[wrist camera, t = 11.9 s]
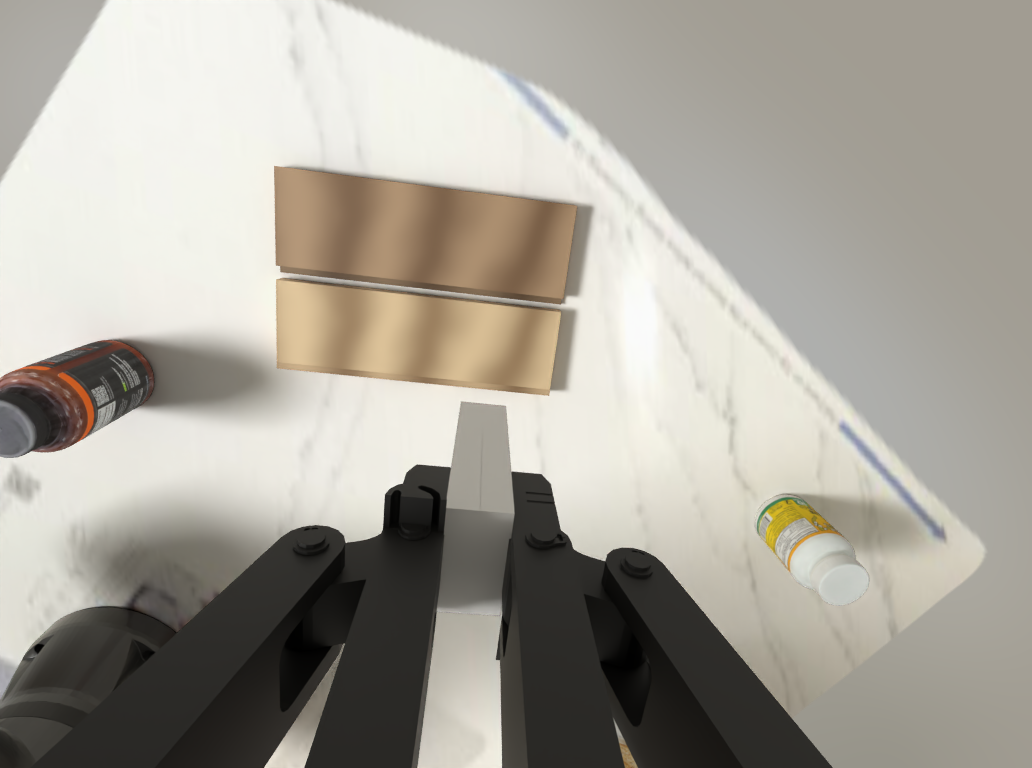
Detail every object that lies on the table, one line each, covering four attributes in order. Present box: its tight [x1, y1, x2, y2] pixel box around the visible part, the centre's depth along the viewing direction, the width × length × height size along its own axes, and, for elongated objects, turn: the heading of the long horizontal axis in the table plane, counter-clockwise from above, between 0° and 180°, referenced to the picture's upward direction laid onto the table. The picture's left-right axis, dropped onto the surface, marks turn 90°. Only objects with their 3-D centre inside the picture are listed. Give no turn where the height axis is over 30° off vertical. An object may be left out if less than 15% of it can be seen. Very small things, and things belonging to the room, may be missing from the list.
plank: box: [276, 278, 561, 396], centre depth 43 cm, size 22×7×1 cm, turn 83°
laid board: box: [274, 166, 577, 304], centre depth 40 cm, size 22×8×1 cm, turn 83°
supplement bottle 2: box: [755, 495, 869, 606], centre depth 46 cm, size 5×5×10 cm
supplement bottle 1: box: [0, 340, 154, 458], centre depth 38 cm, size 6×6×11 cm
